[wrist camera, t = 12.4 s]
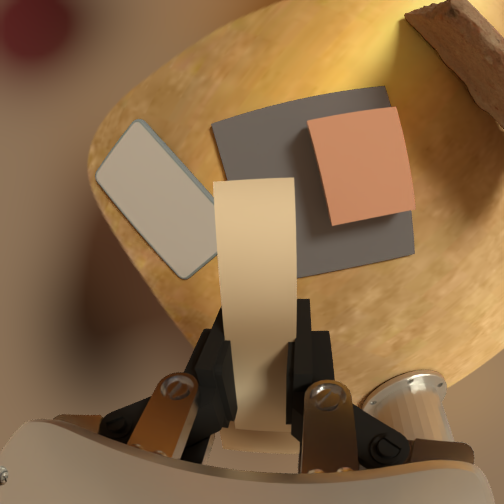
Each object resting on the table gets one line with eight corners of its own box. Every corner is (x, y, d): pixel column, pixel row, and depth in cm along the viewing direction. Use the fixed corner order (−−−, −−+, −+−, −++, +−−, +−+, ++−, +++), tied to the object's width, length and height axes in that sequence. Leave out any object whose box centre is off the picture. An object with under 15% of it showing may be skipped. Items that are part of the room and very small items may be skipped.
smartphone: (183, 283, 27) (91, 177, 24) (186, 279, 28) (97, 175, 25) (243, 233, 24) (137, 115, 21) (245, 230, 25) (142, 115, 22)
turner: (195, 188, 11) (160, 187, 8) (338, 182, 10) (355, 177, 7) (225, 442, 13) (212, 480, 10) (319, 447, 12) (320, 487, 9)
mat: (413, 252, 22) (414, 253, 22) (258, 282, 26) (258, 284, 26) (383, 86, 18) (384, 85, 17) (212, 124, 21) (211, 124, 21)
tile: (415, 209, 18) (396, 106, 16) (332, 225, 20) (306, 120, 18) (405, 203, 21) (386, 110, 18) (329, 218, 22) (306, 124, 20)
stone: (411, 8, 14) (393, 29, 16) (434, -35, 6) (412, -14, 8) (533, 146, 14) (518, 168, 16) (586, 162, 6) (571, 192, 8)
